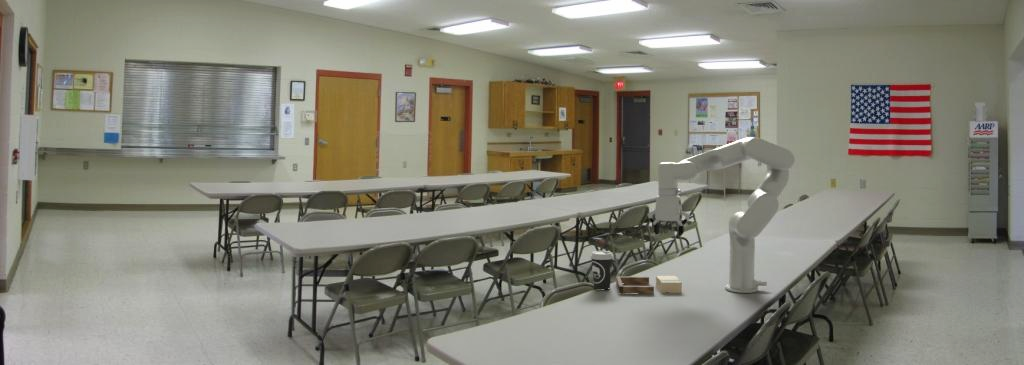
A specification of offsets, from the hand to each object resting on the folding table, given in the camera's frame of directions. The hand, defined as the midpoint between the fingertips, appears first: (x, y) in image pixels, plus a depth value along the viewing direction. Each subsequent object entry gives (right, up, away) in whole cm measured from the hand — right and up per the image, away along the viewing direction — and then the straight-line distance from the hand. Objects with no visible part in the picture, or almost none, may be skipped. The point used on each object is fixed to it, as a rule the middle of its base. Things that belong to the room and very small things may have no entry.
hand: (668, 234), depth 266 cm
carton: (0, -23, +2) cm, 23 cm away
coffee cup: (-27, -23, +4) cm, 35 cm away
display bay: (-13, -22, +3) cm, 26 cm away
